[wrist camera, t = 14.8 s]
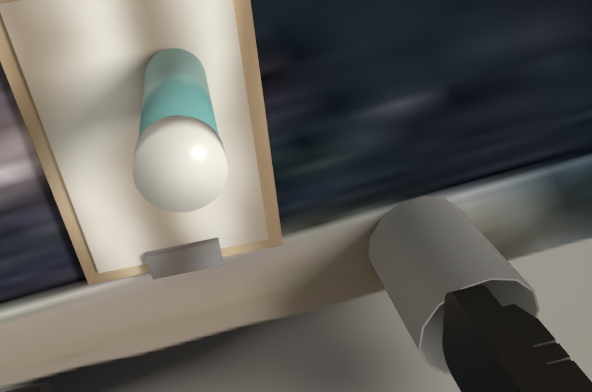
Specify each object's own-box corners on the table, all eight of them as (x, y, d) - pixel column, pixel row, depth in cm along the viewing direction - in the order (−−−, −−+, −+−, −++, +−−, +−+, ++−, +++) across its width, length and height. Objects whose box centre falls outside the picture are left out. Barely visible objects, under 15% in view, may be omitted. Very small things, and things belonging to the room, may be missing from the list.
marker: (200, 39, 30) (219, 122, 20) (211, 98, 32) (234, 203, 22) (136, 48, 30) (121, 138, 19) (151, 108, 31) (145, 220, 21)
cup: (373, 201, 40) (429, 287, 31) (473, 190, 41) (552, 269, 33) (365, 288, 44) (412, 383, 36) (456, 275, 46) (522, 363, 37)
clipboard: (241, -53, 29) (245, -49, 28) (280, 238, 40) (285, 252, 38) (-26, -18, 27) (-36, -13, 26) (90, 277, 38) (87, 292, 36)
